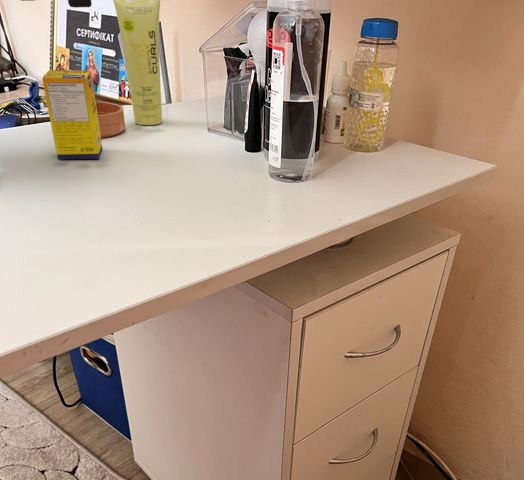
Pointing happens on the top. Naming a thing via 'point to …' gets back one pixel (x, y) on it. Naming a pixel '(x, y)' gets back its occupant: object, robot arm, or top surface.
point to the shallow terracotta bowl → (110, 118)
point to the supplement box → (73, 113)
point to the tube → (142, 56)
